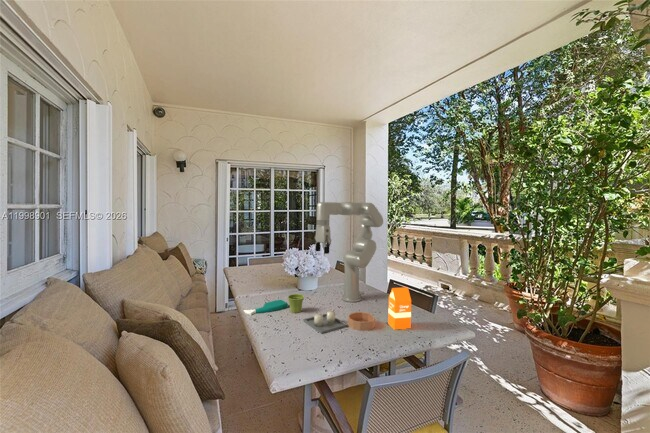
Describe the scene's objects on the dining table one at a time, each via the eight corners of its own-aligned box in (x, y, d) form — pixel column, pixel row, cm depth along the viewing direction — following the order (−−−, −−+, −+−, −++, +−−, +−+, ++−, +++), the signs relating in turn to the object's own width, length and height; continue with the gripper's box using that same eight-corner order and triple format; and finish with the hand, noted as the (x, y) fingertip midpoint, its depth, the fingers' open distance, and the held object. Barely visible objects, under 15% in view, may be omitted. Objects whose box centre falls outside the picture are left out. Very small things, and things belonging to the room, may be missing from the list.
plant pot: (301, 315, 162) (301, 299, 161) (285, 313, 164) (285, 298, 163) (305, 309, 171) (306, 294, 170) (290, 308, 173) (290, 293, 172)
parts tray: (327, 315, 161) (327, 313, 161) (347, 327, 146) (347, 324, 146) (303, 322, 152) (303, 319, 152) (321, 334, 138) (321, 331, 138)
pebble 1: (319, 322, 150) (320, 313, 150) (324, 325, 147) (324, 316, 146) (312, 324, 148) (312, 315, 148) (317, 327, 144) (317, 317, 144)
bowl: (362, 318, 158) (362, 310, 158) (380, 327, 147) (380, 318, 147) (342, 323, 151) (342, 315, 150) (359, 333, 139) (359, 324, 139)
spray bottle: (289, 308, 173) (250, 318, 158) (280, 303, 182) (242, 312, 167) (289, 303, 173) (250, 313, 158) (280, 298, 182) (242, 307, 167)
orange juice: (387, 323, 151) (388, 285, 150) (403, 322, 153) (404, 285, 152) (394, 330, 144) (395, 290, 143) (410, 328, 146) (411, 289, 145)
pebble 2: (331, 319, 155) (332, 310, 154) (336, 322, 151) (336, 313, 151) (325, 321, 152) (325, 312, 152) (329, 324, 148) (329, 314, 148)
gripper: (336, 224, 165) (335, 254, 165) (320, 222, 180) (320, 250, 180) (325, 224, 161) (324, 255, 161) (310, 222, 176) (309, 250, 176)
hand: (322, 252), depth 171 cm, fingers open, 9 cm apart
